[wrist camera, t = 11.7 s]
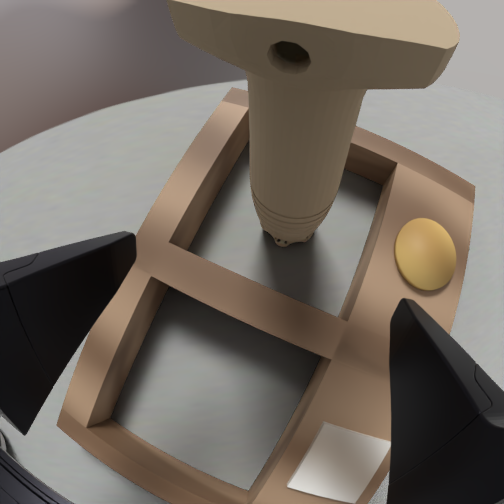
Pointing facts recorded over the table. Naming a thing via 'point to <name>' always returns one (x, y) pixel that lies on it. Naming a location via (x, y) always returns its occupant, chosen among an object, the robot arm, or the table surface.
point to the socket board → (281, 322)
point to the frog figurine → (2, 442)
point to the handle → (314, 85)
